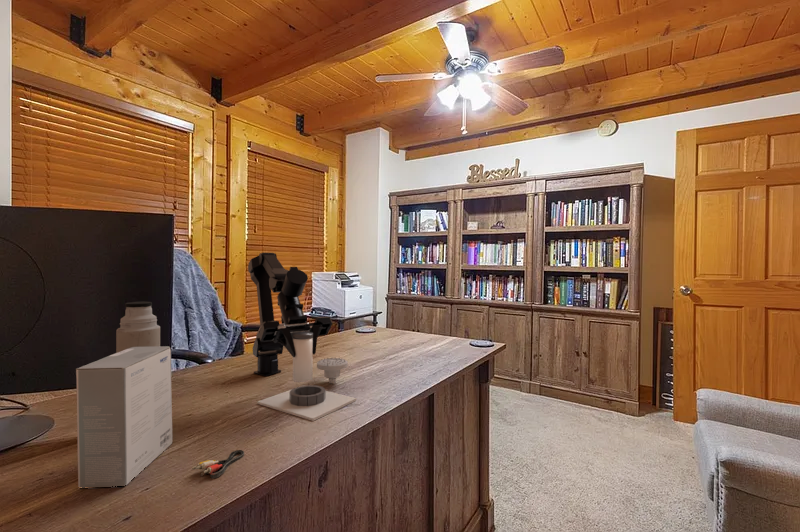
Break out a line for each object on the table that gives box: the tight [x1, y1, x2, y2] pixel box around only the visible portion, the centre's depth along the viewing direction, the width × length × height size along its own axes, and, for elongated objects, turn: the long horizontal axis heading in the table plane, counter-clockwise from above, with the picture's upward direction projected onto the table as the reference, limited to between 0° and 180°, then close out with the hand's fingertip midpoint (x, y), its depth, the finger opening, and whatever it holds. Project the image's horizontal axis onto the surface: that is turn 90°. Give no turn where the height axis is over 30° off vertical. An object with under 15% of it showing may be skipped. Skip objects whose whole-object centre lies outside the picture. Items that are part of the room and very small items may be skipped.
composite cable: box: [191, 449, 245, 479], centre depth 69 cm, size 10×5×2 cm, turn 151°
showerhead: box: [316, 357, 349, 384], centre depth 118 cm, size 9×7×10 cm
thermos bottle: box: [115, 301, 161, 353], centre depth 85 cm, size 8×8×28 cm
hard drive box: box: [75, 345, 173, 488], centre depth 70 cm, size 16×8×20 cm, turn 5°
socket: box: [257, 384, 357, 422], centre depth 102 cm, size 20×16×3 cm
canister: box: [292, 331, 314, 383], centre depth 101 cm, size 5×5×12 cm
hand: (304, 355), depth 99 cm, fingers closed on canister, 5 cm apart
